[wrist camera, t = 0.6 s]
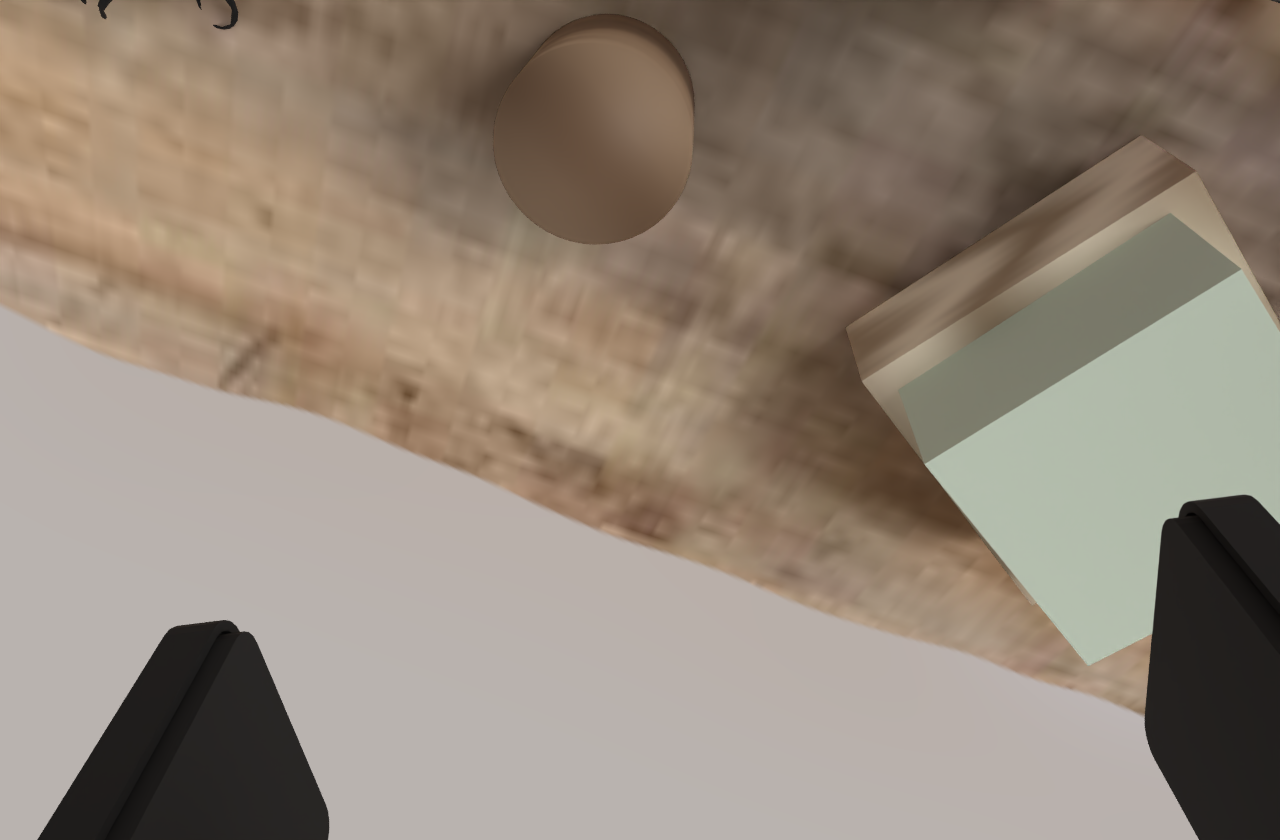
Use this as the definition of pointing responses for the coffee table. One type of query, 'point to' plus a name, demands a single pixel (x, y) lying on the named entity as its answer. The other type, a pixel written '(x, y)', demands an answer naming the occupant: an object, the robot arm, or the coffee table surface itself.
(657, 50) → the walnut cylinder
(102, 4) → the creature
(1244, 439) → the tower top
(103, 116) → the coffee table surface
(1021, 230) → the tower base
